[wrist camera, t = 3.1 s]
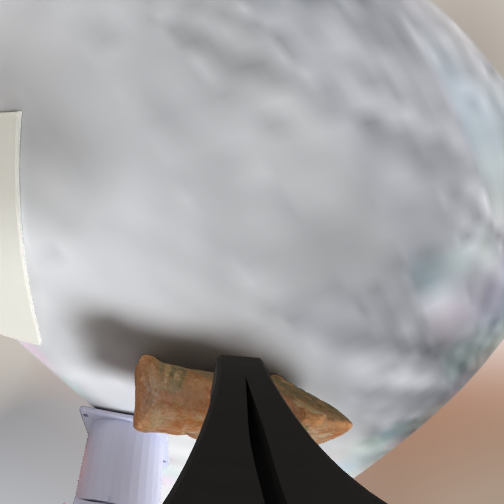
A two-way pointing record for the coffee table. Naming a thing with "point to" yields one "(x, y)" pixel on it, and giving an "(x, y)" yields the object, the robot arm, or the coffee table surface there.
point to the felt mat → (13, 241)
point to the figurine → (198, 400)
